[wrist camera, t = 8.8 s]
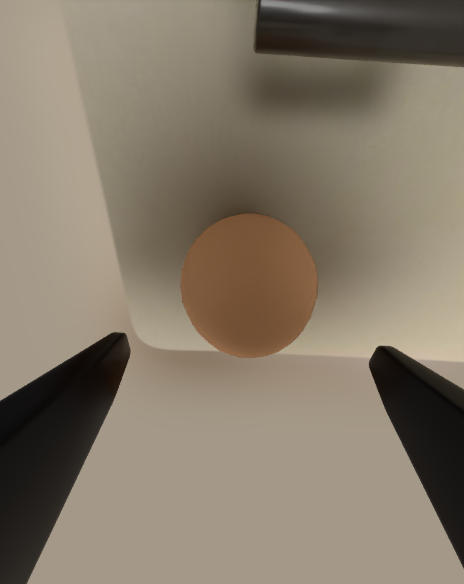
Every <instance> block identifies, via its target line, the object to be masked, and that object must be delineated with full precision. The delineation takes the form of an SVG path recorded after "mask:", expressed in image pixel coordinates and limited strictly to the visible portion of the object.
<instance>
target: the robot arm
mask: <svg viewBox="0 0 464 584" xmlns="http://www.w3.org/2000/svg"><path fill="white" fill-rule="evenodd" d="M129 357H130V346H129V342H128V339H127V335H126V334H125V333H118V332H114V333H111V334H109V335H108V336H106V337H104V338H103V339H101V340H99V341H98V342H96V343H95V344H93V345H91V346H90V347H88V348H86V349H85V350H83V351H81V352H80V353H78V354H77V355H75V356H73V357H72V358H70V359H68V360H67V361H65V362H63V363H62V364H60V365H58V366H57V367H55V368H53V369H52V370H50V371H49V372H47V373H45V374H44V375H42V376H40V377H39V378H37V379H36V380H34V381H32V382H30V383H29V384H27V385H26V386H24V387H22V388H21V389H19V390H17V391H16V392H14V393H12V394H11V395H9V396H8V397H6V398H4V399H3V400H1V401H0V584H27V582H28V580H29V578H30V576H31V573H32V571H33V569H34V567H35V565H36V563H37V561H38V559H39V557H40V555H41V553H42V550H43V548H44V546H45V544H46V542H47V540H48V538H49V536H50V534H51V532H52V529H53V527H54V525H55V523H56V521H57V519H58V517H59V515H60V513H61V510H62V508H63V506H64V504H65V502H66V499H67V498H68V496H69V494H70V492H71V489H72V487H73V485H74V483H75V481H76V479H77V476H78V475H79V473H80V470H81V468H82V466H83V464H84V462H85V460H86V458H87V456H88V453H89V452H90V449H91V447H92V445H93V443H94V441H95V439H96V437H97V435H98V433H99V430H100V428H101V426H102V424H103V422H104V420H105V418H106V416H107V414H108V411H109V409H110V407H111V405H112V403H113V401H114V398H115V396H116V393H117V391H118V388H119V385H120V382H121V380H122V376H123V374H124V371H125V368H126V365H127V362H128V359H129ZM369 368H370V371H371V373H372V376H373V379H374V381H375V384H376V386H377V389H378V392H379V394H380V397H381V399H382V402H383V405H384V407H385V409H386V412H387V414H388V416H389V418H390V420H391V422H392V424H393V426H394V428H395V430H396V432H397V434H398V436H399V438H400V440H401V442H402V444H403V446H404V448H405V450H406V452H407V454H408V456H409V458H410V461H411V463H412V464H413V467H414V469H415V471H416V473H417V475H418V477H419V478H420V481H421V483H422V485H423V487H424V489H425V491H426V493H427V495H428V497H429V499H430V501H431V503H432V505H433V507H434V509H435V511H436V513H437V515H438V517H439V519H440V521H441V523H442V525H443V527H444V529H445V531H446V533H447V535H448V538H449V539H450V542H451V543H452V546H453V548H454V550H455V552H456V554H457V556H458V558H459V560H460V562H461V564H462V566H463V568H464V389H462V388H460V387H459V386H457V385H455V384H454V383H452V382H450V381H449V380H447V379H445V378H444V377H442V376H440V375H439V374H437V373H435V372H434V371H432V370H430V369H429V368H427V367H425V366H423V365H422V364H420V363H419V362H417V361H415V360H414V359H412V358H410V357H409V356H407V355H405V354H404V353H402V352H400V351H399V350H397V349H395V348H394V347H391V346H378V347H377V348H376V350H375V352H374V353H373V355H372V357H371V359H370V361H369Z"/></svg>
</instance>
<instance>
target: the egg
mask: <svg viewBox="0 0 464 584" xmlns="http://www.w3.org/2000/svg"><path fill="white" fill-rule="evenodd" d="M317 290H318V278H317V272H316V267H315V263H314V260H313V258H312V256H311V255H310V253H309V251H308V249H307V247H306V245H305V243H304V242H303V241H302V240H301V238H300V237H299V236H298V235H297V233H296V232H295V231H294V230H292V229H291V228H289V227H288V226H286V225H285V224H284V223H282V222H280V221H278V220H276V219H274V218H271V217H269V216H264V215H260V214H240V215H235V216H231V217H227V218H224V219H222V220H220V221H218V222H217V223H215V224H213V225H211V226H210V227H208V228H207V229H206V230H205V231H204V232H203V233H202V234H201V235H200V236H199V237H198V238H197V239H196V240H195V241H194V243H193V245H192V246H191V248H190V250H189V252H188V254H187V256H186V259H185V262H184V265H183V268H182V275H181V294H182V302H183V305H184V307H185V309H186V312H187V314H188V316H189V318H190V320H191V322H192V324H193V325H194V327H195V329H196V330H197V332H198V333H199V334H200V335H201V336H202V337H203V338H204V339H205V340H207V341H208V342H209V343H210V344H211V345H213V346H214V347H215V348H217V349H218V350H219V351H222V352H224V353H228V354H230V355H233V356H237V357H242V358H255V357H263V356H268V355H270V354H273V353H276V352H279V351H280V350H282V349H283V348H285V347H286V346H288V345H289V344H290V343H292V342H293V341H294V340H295V339H296V338H297V337H298V336H299V335H300V333H301V332H302V331H303V329H304V327H305V326H306V324H307V322H308V321H309V319H310V317H311V314H312V311H313V308H314V305H315V302H316V299H317Z"/></svg>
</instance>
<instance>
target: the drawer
mask: <svg viewBox="0 0 464 584" xmlns="http://www.w3.org/2000/svg"><path fill="white" fill-rule="evenodd" d="M253 49H254V52H255V53H259V54H274V55H288V56H303V57H318V58H333V59H348V60H363V61H378V62H393V63H408V64H423V65H438V66H453V67H464V0H256V12H255V25H254V41H253Z"/></svg>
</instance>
